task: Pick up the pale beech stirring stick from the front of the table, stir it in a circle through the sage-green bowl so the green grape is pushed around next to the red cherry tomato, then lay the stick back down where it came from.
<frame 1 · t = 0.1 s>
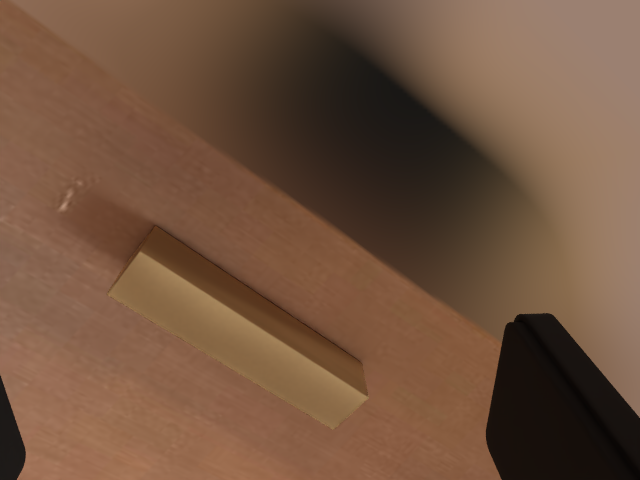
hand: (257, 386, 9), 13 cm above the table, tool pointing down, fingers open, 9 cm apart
stick: (250, 317, 24), on the table
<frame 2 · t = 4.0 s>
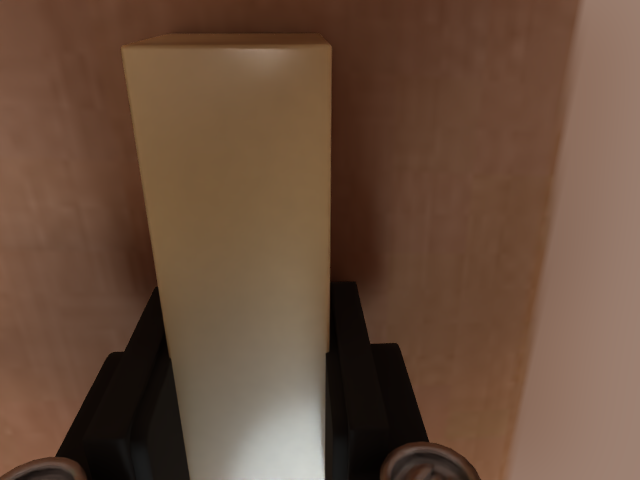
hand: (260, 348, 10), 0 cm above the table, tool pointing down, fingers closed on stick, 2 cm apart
stick: (262, 337, 11), on the table, touching gripper
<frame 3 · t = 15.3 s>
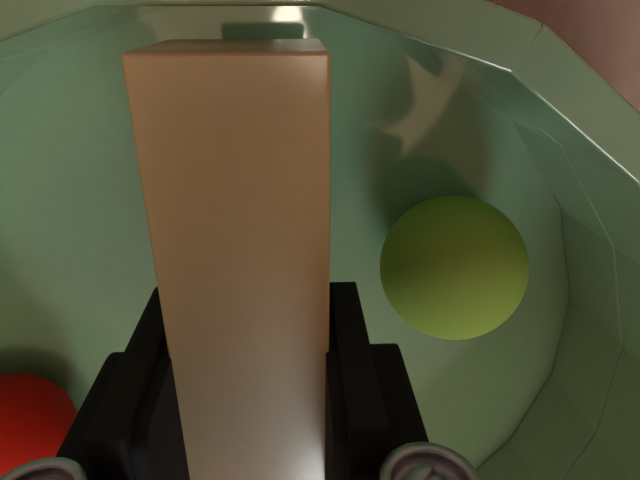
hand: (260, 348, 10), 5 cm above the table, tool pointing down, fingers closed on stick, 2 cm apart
mixing bowl: (261, 331, 16), on the table
tomato: (8, 439, 14), point 3 cm above the table, touching mixing bowl
stick: (262, 340, 11), point 5 cm above the table, touching gripper
grape: (451, 266, 13), point 3 cm above the table, tilted 90°, touching mixing bowl
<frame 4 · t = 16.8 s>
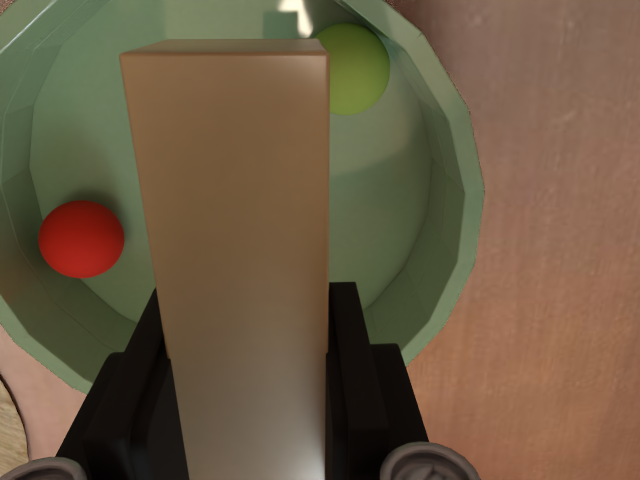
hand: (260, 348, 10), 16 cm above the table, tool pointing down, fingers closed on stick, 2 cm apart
mixing bowl: (238, 186, 25), on the table
tomato: (82, 239, 23), point 3 cm above the table, touching mixing bowl
stick: (261, 341, 11), point 15 cm above the table, touching gripper
grape: (346, 70, 21), point 3 cm above the table, tilted 146°, touching mixing bowl
when the fingers open (0 cm above the table, at t = 20.4 s): stick stays where it is, on the table.
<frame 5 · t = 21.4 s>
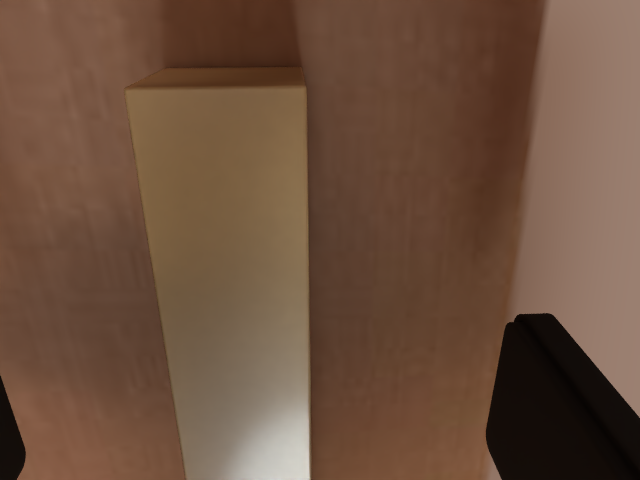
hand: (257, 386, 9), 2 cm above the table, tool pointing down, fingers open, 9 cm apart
stick: (252, 340, 12), on the table
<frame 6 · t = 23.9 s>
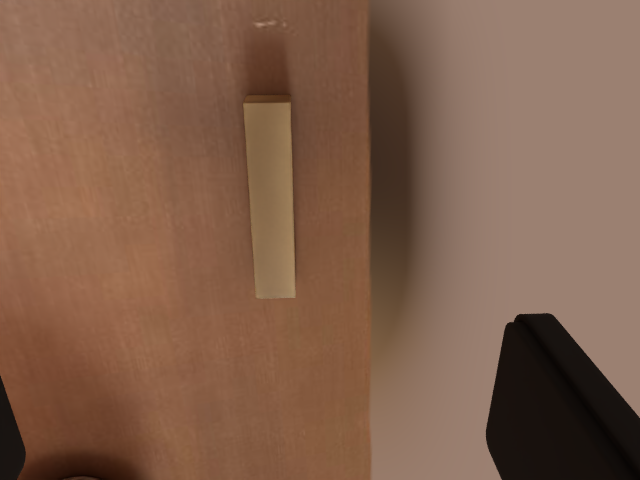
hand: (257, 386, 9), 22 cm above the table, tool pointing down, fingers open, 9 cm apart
stick: (273, 194, 31), on the table
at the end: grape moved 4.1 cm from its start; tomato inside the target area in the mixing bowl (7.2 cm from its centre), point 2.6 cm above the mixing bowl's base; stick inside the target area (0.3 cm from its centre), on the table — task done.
